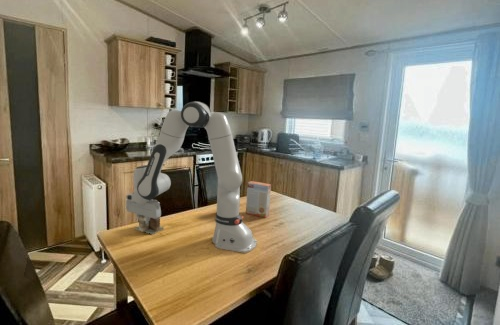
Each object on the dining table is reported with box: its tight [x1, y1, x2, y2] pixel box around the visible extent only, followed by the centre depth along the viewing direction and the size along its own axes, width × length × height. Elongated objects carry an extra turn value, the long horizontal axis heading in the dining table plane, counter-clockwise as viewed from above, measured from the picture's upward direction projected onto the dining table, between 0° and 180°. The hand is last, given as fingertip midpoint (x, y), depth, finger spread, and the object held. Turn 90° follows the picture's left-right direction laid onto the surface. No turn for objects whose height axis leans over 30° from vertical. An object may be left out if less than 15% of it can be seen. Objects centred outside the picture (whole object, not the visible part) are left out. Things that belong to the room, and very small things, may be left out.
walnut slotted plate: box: [134, 216, 164, 235], centre depth 142 cm, size 12×8×9 cm, turn 66°
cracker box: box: [245, 180, 272, 219], centre depth 171 cm, size 14×6×21 cm, turn 64°
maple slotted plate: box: [138, 215, 150, 233], centre depth 142 cm, size 12×2×8 cm, turn 156°
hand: (143, 222), depth 138 cm, fingers closed on maple slotted plate, 2 cm apart
